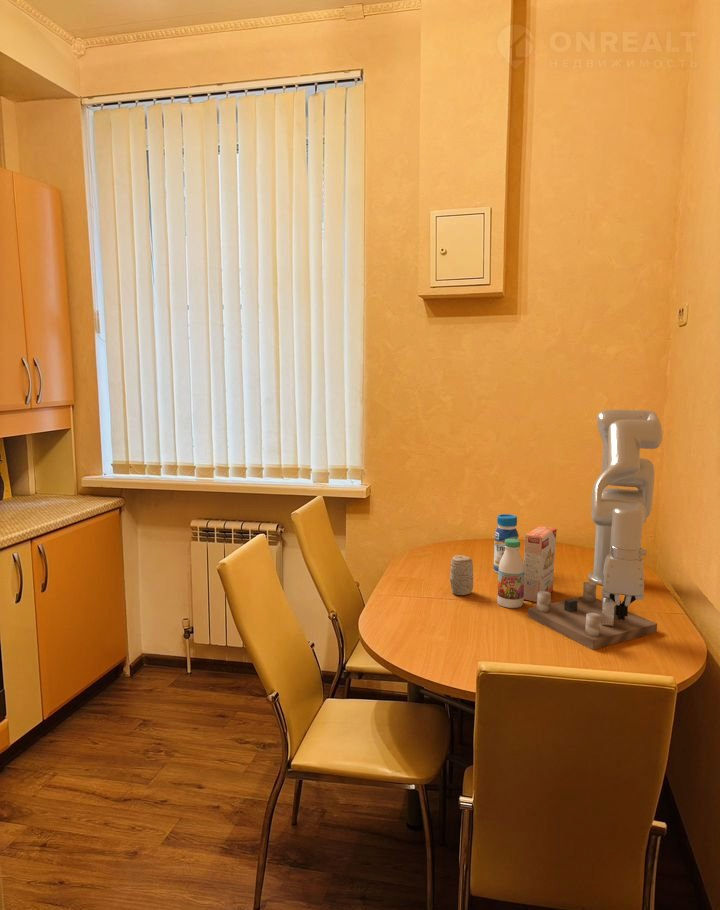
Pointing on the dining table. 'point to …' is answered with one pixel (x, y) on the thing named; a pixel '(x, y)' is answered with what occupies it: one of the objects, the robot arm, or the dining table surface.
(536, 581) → the cracker box
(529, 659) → the dining table surface
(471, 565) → the carving
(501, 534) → the beverage bottle
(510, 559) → the milk bottle
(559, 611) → the brown board with pegs
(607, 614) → the hinged leg
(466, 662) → the dining table surface
